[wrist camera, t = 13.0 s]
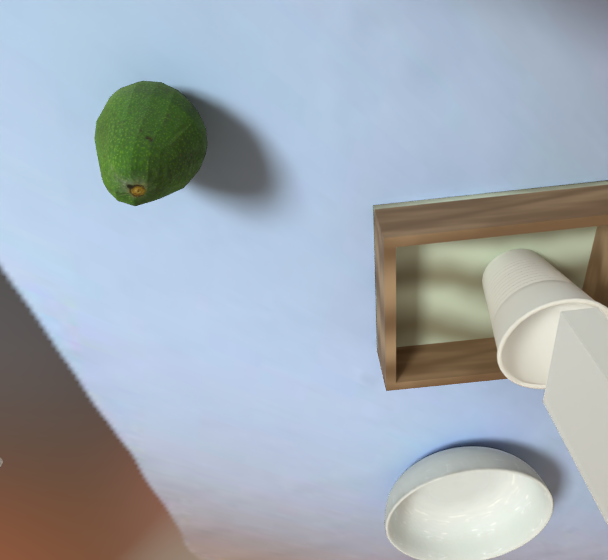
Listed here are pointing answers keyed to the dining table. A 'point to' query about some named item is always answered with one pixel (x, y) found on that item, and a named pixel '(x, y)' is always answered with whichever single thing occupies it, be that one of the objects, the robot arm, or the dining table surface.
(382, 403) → the dining table surface
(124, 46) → the dining table surface
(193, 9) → the dining table surface
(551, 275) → the cup
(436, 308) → the crate
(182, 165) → the avocado
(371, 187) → the dining table surface
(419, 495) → the serving bowl
